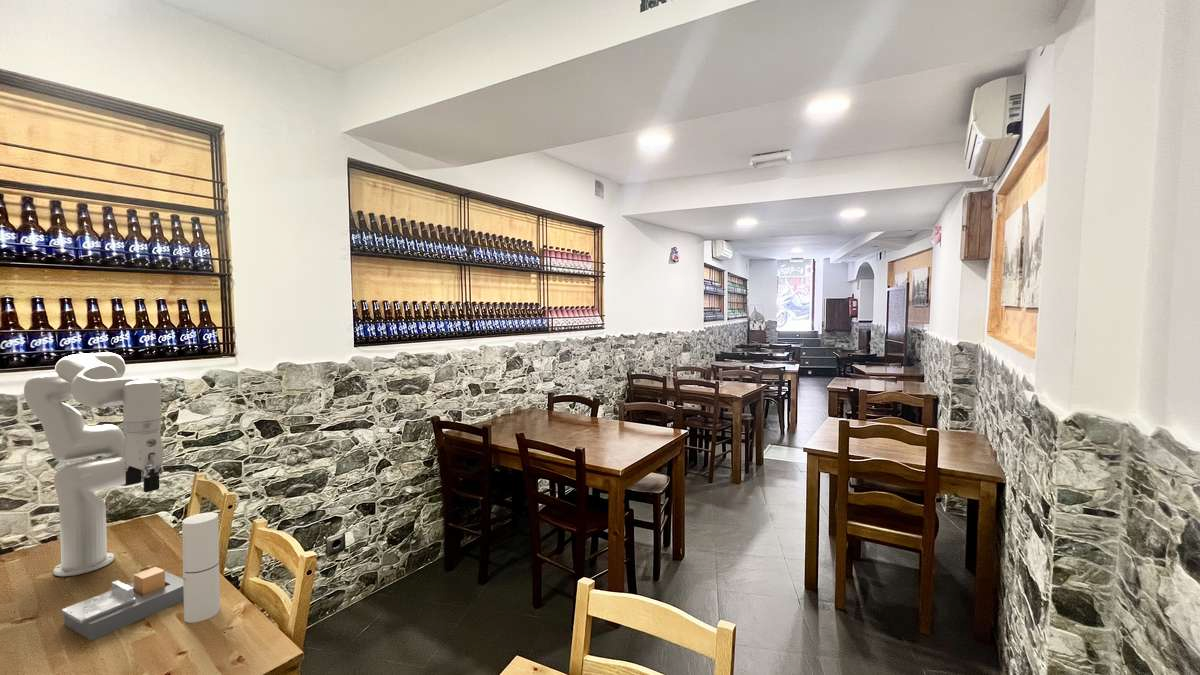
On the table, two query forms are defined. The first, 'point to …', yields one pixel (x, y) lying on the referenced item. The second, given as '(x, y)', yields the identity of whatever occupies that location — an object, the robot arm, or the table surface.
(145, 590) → the plug peg
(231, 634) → the table surface
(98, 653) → the table surface
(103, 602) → the panel
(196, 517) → the cylindrical container
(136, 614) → the socket block
